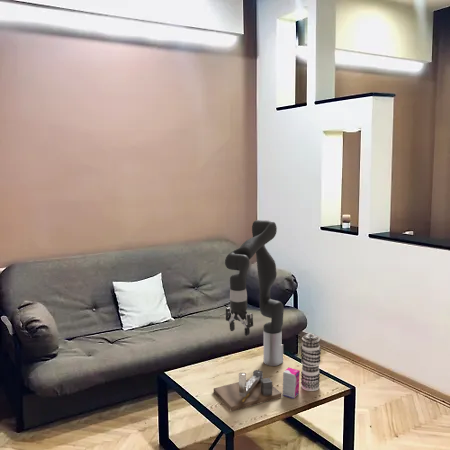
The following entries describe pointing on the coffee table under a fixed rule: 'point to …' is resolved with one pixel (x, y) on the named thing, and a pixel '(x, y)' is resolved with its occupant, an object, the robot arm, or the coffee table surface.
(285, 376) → the supplement box
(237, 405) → the brown board
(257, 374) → the lever
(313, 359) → the white patterned cylinder
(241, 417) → the coffee table surface
